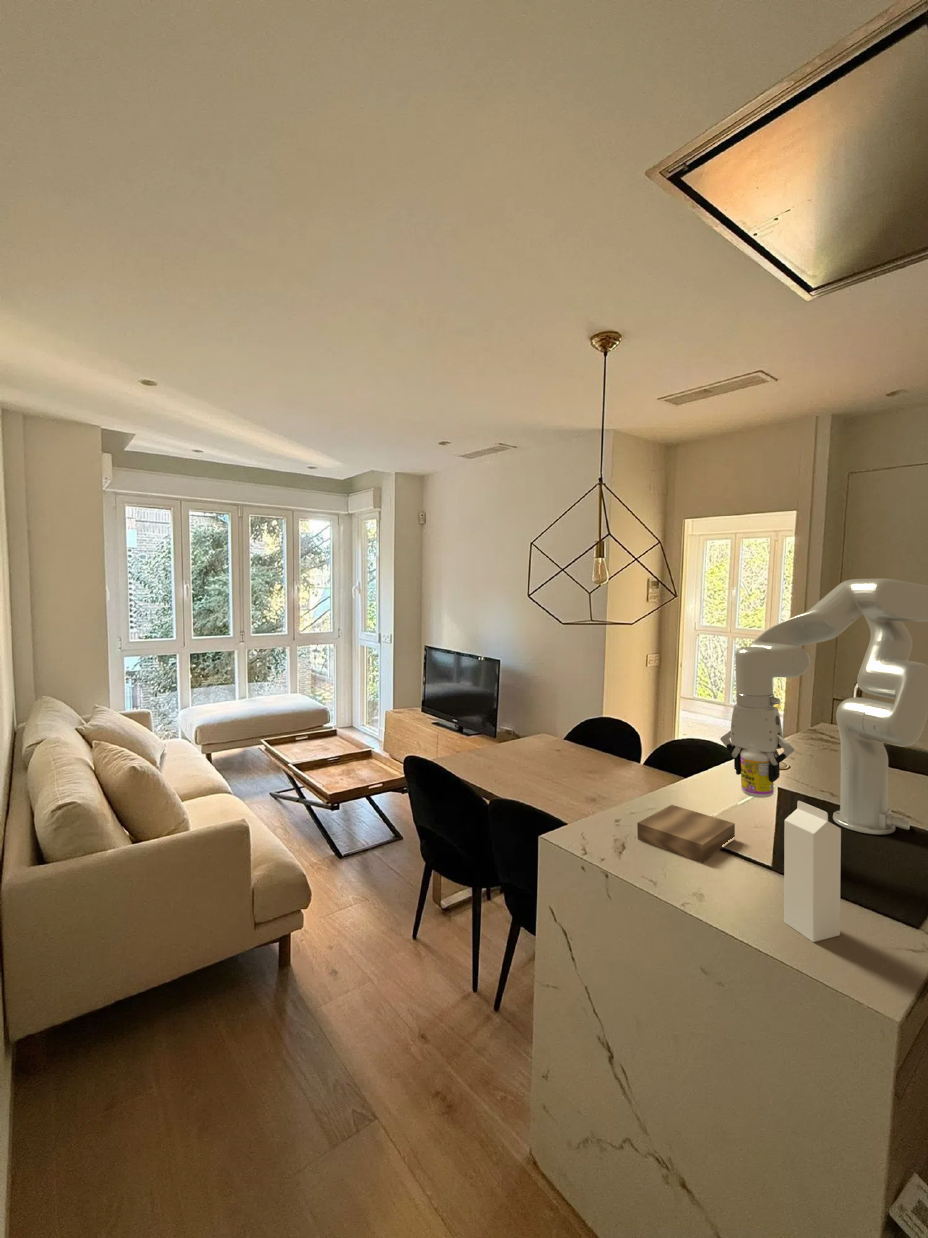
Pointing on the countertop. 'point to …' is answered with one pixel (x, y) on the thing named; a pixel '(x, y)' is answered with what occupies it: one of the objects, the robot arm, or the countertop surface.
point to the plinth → (686, 832)
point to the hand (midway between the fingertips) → (756, 776)
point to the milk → (812, 873)
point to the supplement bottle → (755, 773)
